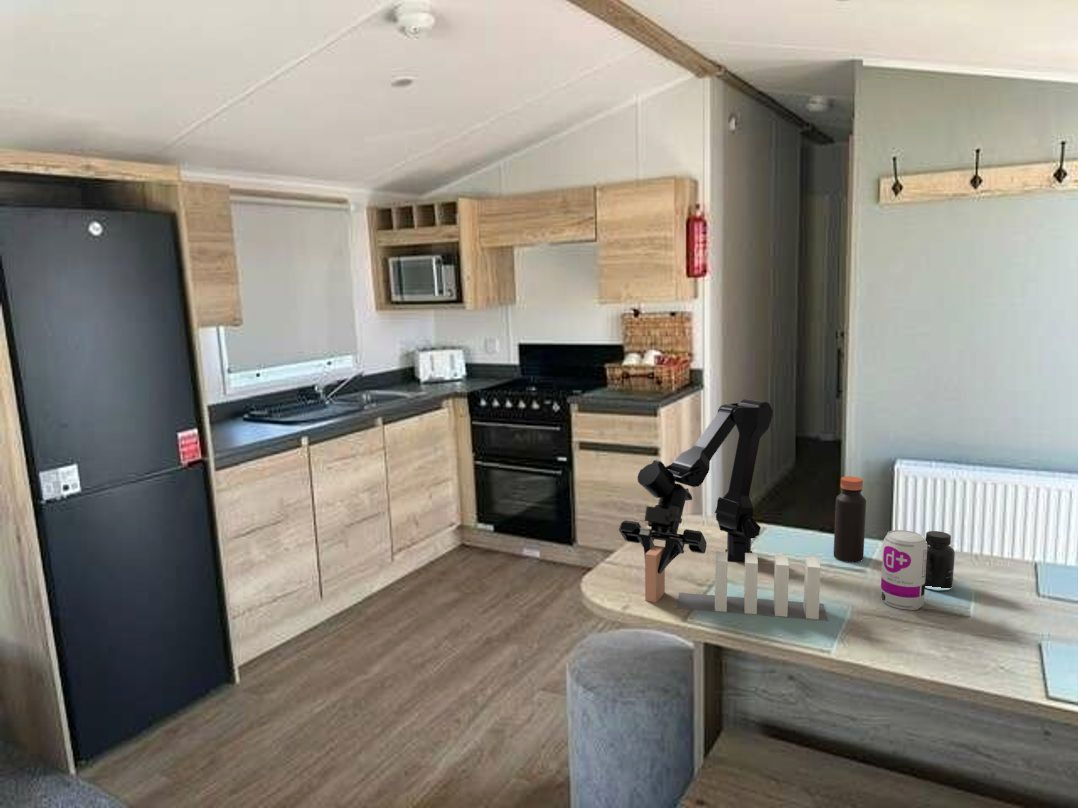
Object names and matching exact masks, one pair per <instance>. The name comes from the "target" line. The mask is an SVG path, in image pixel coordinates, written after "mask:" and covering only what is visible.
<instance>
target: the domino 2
mask: <svg viewBox="0 0 1078 808" xmlns="http://www.w3.org/2000/svg"><path fill="white" fill-rule="evenodd" d="M758 559H759V558H758V553H753V552H752V553H745V561H744V583H743V584H744V586H743V589H744V590H743V591H744V592H743V593H744V594H743V598H744V611H745V613H747V614H746V615H751V614H757V599H758V580H759V579H758V578H759V577H758V575H759V573H758V572H759V561H758Z"/></svg>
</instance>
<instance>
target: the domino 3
mask: <svg viewBox="0 0 1078 808" xmlns="http://www.w3.org/2000/svg"><path fill="white" fill-rule="evenodd" d="M788 559H789V558H788V556H787V554H786V555H785V554H784V555H783V554H774V569H773V570H774V571H773V572H774V574H773V575H774V576H773V579H774V580H773V600H774V612H775V616H774V617H776V616H784V617H783V618H788V617H787V612H788V601H789V579H790V578H789V574H790V573H789V571H790V564H789V560H788Z"/></svg>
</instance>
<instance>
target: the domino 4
mask: <svg viewBox="0 0 1078 808" xmlns="http://www.w3.org/2000/svg"><path fill="white" fill-rule="evenodd" d="M821 569H822V568H821V564H820V561H819V557H817V556H816V557H815V556H805V557H804V579H803V581H804V583H803V602H804V605H803V607H804V611H805V616H806V618H808V619H807V620H812V619H819V603H820V590H821V589H820V588H821Z"/></svg>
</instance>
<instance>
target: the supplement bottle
mask: <svg viewBox="0 0 1078 808" xmlns="http://www.w3.org/2000/svg"><path fill="white" fill-rule="evenodd" d="M925 533H926V534H925V537H924V539H925V541H926V543H927V560H926V576H925V586H932V587H941V588H951V587H952V588H953V582H954V571H955V570H954V569H955V560H956V559H955V557H956V553H955V550H954V548H953V547H952V546H950V545H951V542H952V541H951V538H952V536H951V534H950V533H947V532H944V531H938V530H929V531H927V532H925ZM952 588H951V589H952Z"/></svg>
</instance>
